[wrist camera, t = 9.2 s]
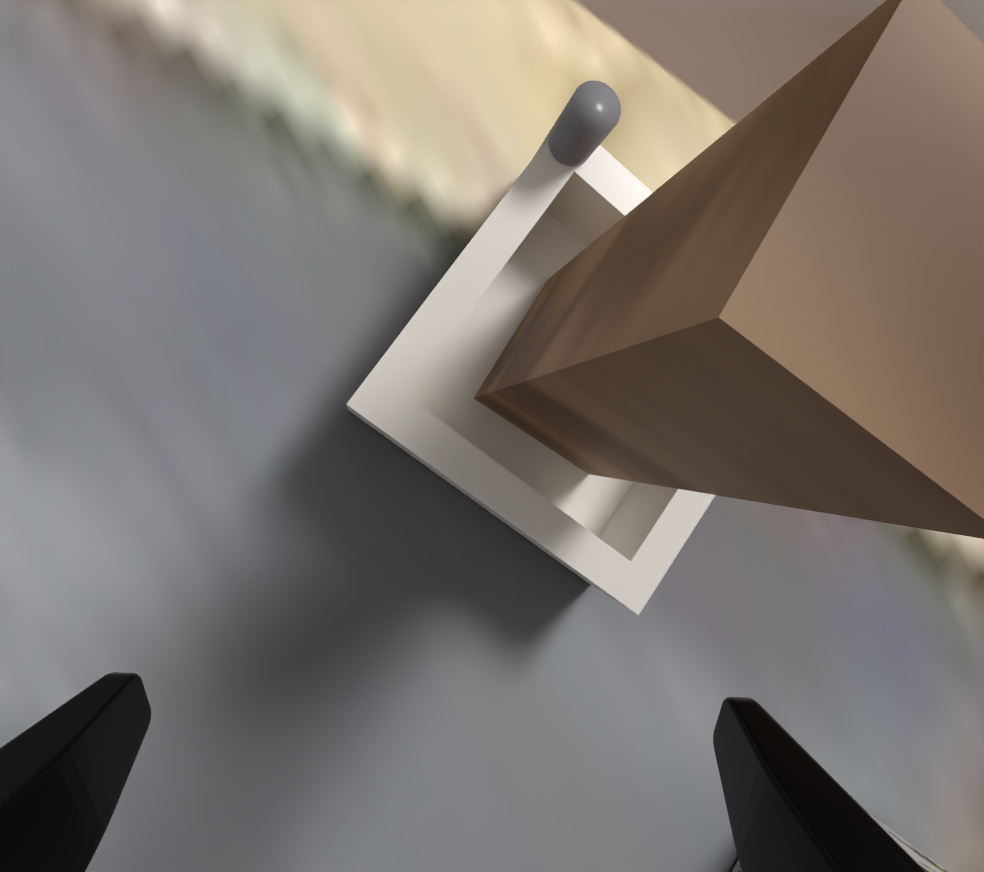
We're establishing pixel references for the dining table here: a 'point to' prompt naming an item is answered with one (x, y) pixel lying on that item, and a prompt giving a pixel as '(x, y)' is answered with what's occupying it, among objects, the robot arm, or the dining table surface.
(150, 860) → the dining table surface
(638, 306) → the brown block
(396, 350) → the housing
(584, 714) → the dining table surface
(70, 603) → the dining table surface
